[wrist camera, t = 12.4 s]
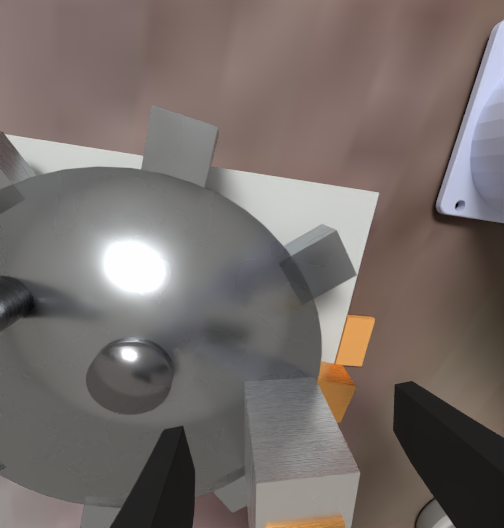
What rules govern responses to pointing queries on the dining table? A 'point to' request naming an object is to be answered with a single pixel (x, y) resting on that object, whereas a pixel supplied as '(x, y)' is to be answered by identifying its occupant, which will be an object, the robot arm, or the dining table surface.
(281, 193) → the base plate
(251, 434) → the box with orange tab
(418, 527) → the travel mug
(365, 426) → the dining table surface
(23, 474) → the sprocket
